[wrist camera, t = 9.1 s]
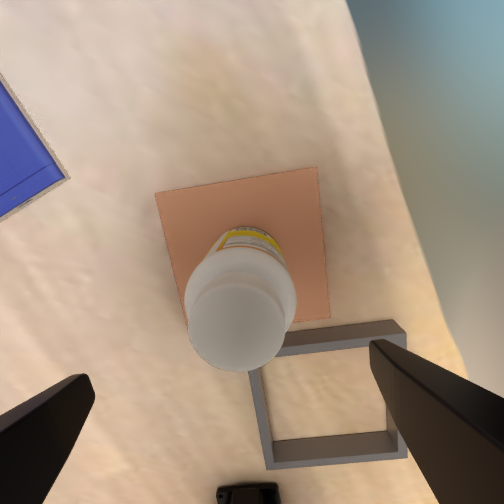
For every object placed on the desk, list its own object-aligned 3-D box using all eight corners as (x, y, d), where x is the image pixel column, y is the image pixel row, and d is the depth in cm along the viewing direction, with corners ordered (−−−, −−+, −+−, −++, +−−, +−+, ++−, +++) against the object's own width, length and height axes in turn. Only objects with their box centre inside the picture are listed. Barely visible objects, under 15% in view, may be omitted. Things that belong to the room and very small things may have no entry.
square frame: (395, 436, 25) (407, 458, 23) (266, 448, 25) (266, 470, 23) (393, 319, 21) (406, 332, 20) (245, 337, 22) (244, 352, 20)
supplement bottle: (233, 303, 21) (211, 408, 11) (198, 245, 20) (138, 304, 10) (294, 273, 20) (329, 357, 10) (262, 211, 19) (265, 238, 9)
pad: (328, 314, 22) (330, 317, 21) (190, 332, 22) (189, 335, 22) (315, 167, 19) (316, 166, 18) (157, 193, 19) (154, 193, 19)
